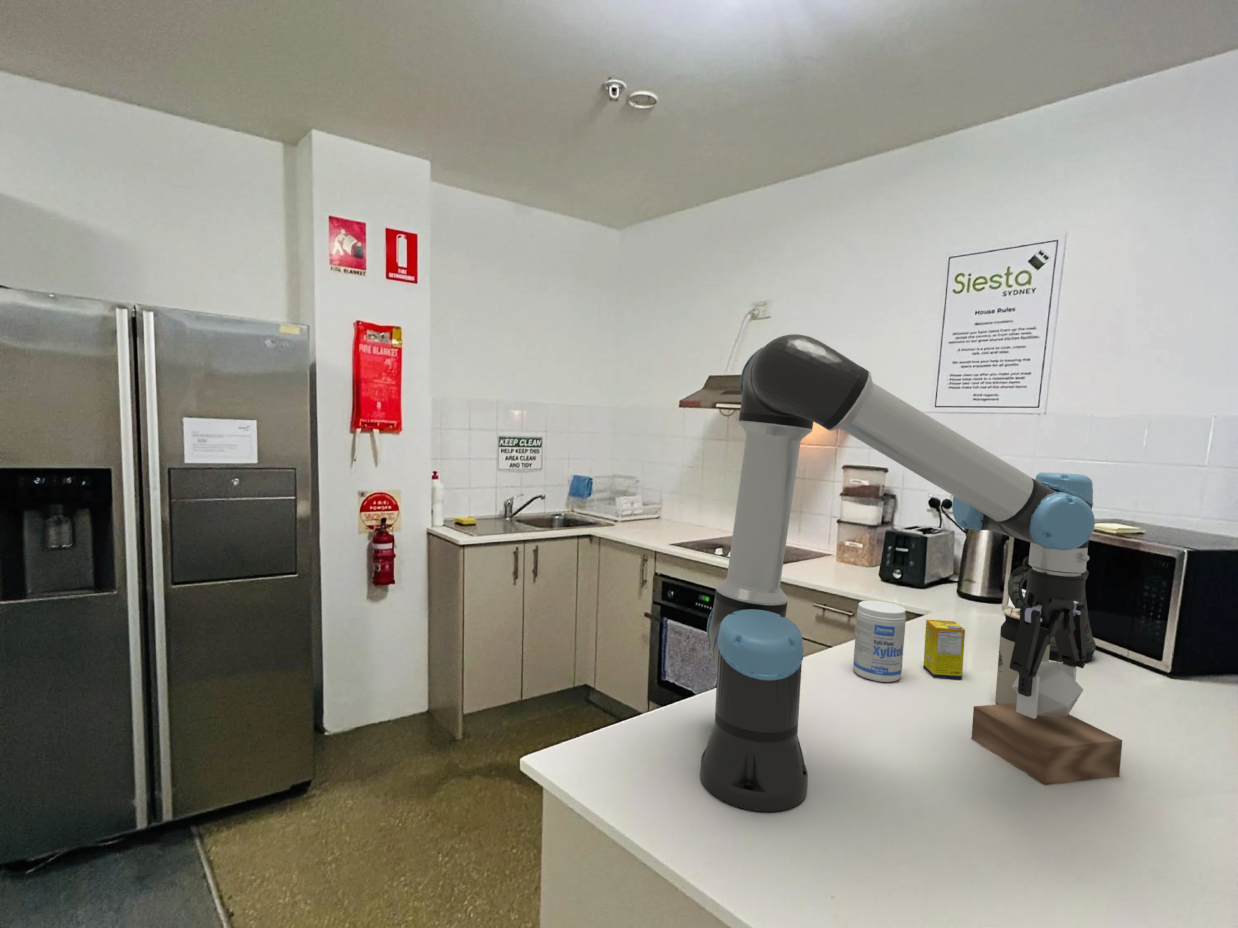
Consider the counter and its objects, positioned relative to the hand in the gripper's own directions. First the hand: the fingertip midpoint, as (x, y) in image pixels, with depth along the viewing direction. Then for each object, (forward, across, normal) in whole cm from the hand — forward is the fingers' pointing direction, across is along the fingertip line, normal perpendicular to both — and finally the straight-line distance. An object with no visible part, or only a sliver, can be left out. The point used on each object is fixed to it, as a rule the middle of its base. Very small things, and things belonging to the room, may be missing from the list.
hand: (1044, 709), depth 102 cm
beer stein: (+8, +55, +29) cm, 63 cm away
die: (+1, 0, 0) cm, 1 cm away
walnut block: (+8, 0, 0) cm, 8 cm away
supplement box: (+8, +17, +30) cm, 35 cm away
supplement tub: (+8, +3, +35) cm, 36 cm away
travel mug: (+8, +16, +13) cm, 22 cm away
